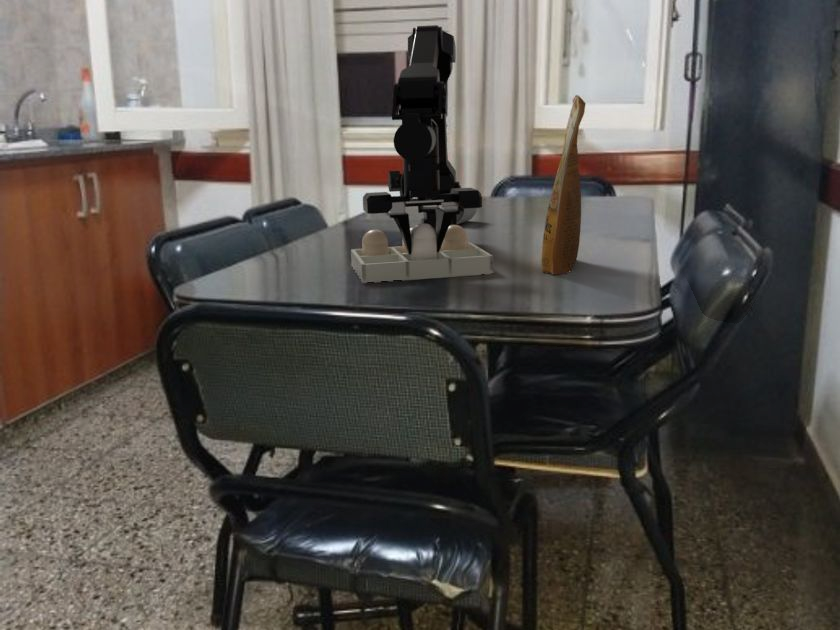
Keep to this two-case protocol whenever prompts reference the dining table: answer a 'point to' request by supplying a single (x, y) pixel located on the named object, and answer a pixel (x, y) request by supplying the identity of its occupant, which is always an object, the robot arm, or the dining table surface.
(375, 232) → the carton
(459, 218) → the ceramic mug
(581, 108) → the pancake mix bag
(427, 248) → the egg
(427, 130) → the robot arm
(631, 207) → the dining table surface
